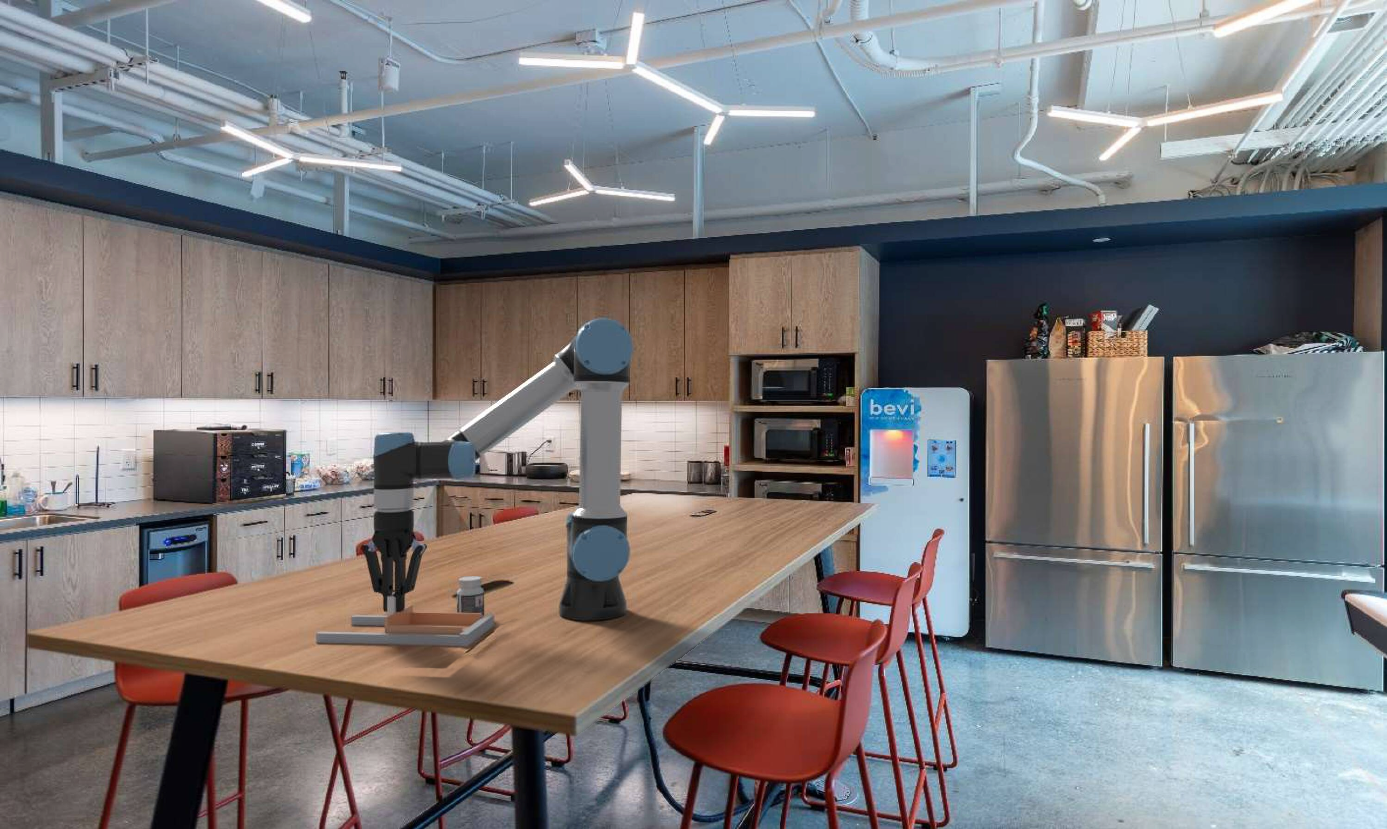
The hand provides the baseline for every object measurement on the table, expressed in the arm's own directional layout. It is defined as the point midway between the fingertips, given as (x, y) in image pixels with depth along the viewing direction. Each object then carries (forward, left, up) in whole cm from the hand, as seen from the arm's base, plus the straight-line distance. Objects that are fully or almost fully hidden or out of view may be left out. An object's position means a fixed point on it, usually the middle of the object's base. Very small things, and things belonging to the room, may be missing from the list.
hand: (394, 627), depth 163 cm
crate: (-8, 0, -1) cm, 8 cm away
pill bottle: (-11, -13, -3) cm, 17 cm away
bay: (-3, 0, -2) cm, 4 cm away
